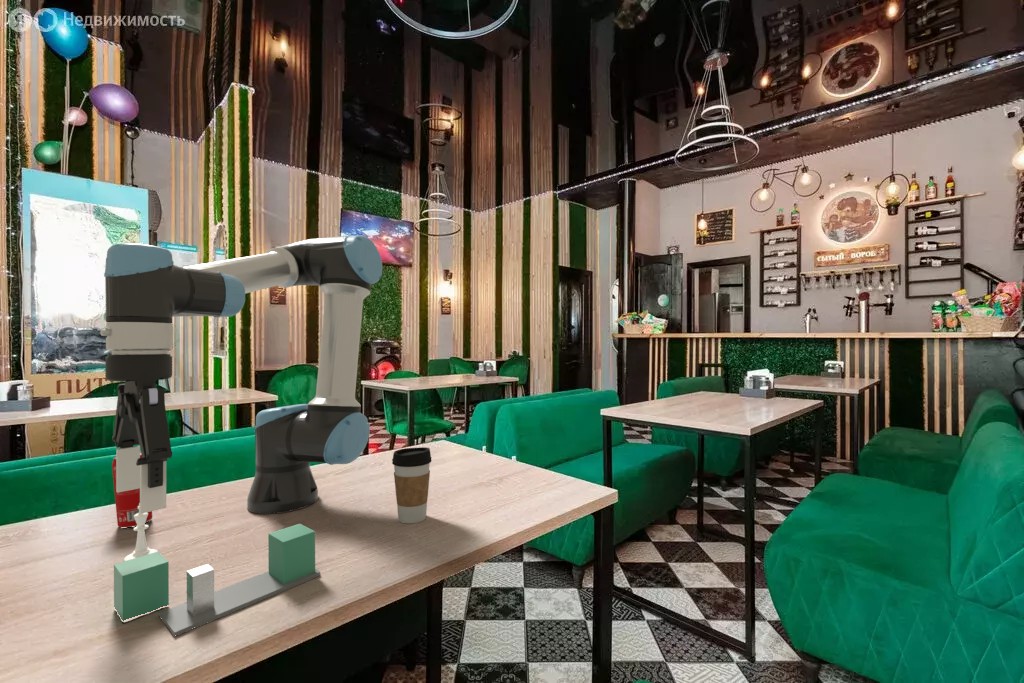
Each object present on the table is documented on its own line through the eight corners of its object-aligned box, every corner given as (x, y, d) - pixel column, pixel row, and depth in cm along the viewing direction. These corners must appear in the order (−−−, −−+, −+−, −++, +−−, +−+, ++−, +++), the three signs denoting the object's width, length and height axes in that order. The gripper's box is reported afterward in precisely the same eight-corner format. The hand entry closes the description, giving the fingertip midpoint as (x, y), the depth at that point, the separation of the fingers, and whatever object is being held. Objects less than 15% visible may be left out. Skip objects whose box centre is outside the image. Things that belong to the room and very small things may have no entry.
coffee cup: (422, 527, 95) (422, 455, 95) (385, 524, 96) (384, 453, 96) (437, 512, 103) (437, 446, 103) (402, 509, 104) (402, 444, 104)
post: (186, 609, 65) (186, 570, 65) (207, 601, 67) (207, 563, 67) (193, 616, 63) (192, 576, 63) (214, 607, 65) (214, 569, 65)
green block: (114, 610, 66) (113, 564, 66) (158, 594, 70) (158, 551, 70) (122, 624, 63) (122, 576, 63) (168, 606, 67) (168, 561, 67)
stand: (159, 616, 64) (158, 565, 64) (299, 562, 80) (299, 521, 80) (174, 636, 60) (174, 582, 60) (320, 575, 75) (320, 531, 75)
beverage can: (158, 521, 99) (157, 451, 99) (122, 532, 93) (121, 458, 93) (142, 516, 101) (142, 449, 101) (106, 527, 95) (106, 455, 95)
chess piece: (129, 568, 78) (129, 510, 78) (118, 561, 81) (118, 504, 81) (163, 557, 82) (163, 501, 82) (152, 550, 85) (151, 496, 85)
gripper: (88, 352, 71) (88, 488, 71) (128, 354, 55) (128, 529, 55) (148, 351, 77) (148, 477, 77) (200, 353, 61) (199, 511, 61)
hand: (139, 499), depth 66 cm, fingers open, 13 cm apart
